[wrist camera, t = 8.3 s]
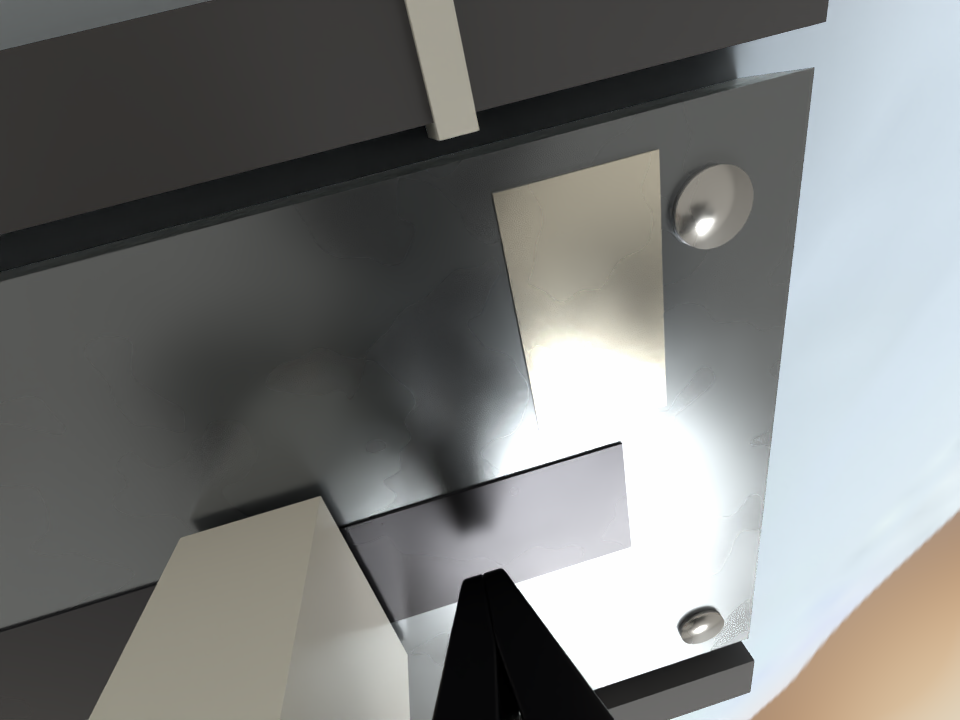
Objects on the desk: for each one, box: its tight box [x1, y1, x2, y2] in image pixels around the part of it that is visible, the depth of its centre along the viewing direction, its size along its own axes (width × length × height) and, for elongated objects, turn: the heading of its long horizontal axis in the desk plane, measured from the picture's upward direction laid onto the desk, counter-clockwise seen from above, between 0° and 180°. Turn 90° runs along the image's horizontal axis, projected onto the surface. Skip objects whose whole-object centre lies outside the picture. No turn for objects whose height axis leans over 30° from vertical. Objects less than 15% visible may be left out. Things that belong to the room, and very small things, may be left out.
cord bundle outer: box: [0, 0, 829, 235], centre depth 6 cm, size 2×20×2 cm, turn 102°
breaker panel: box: [0, 67, 814, 720], centre depth 10 cm, size 14×20×2 cm
